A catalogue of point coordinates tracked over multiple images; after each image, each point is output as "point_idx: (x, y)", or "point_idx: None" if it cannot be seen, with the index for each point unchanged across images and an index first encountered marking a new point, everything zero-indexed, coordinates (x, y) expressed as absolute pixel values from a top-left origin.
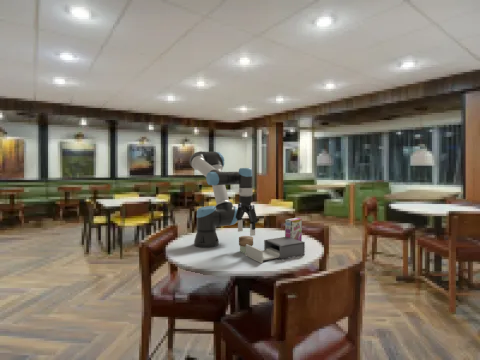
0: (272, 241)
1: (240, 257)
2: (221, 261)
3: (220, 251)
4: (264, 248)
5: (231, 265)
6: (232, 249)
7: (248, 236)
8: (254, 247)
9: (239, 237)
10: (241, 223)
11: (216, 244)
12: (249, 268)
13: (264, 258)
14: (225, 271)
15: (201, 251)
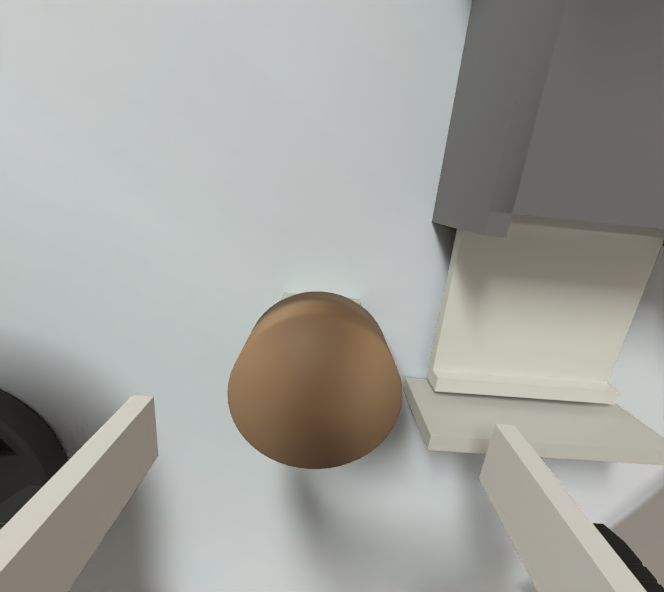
0: (612, 200)
1: (408, 432)
2: (397, 541)
3: (207, 463)
4: (447, 225)
5: (488, 533)
6: (203, 377)
7: (283, 345)
8: (558, 445)
9: (267, 450)
10: (57, 530)
11: (38, 431)
12: (595, 492)
13: (606, 377)
14: (533, 584)
15: (145, 545)
